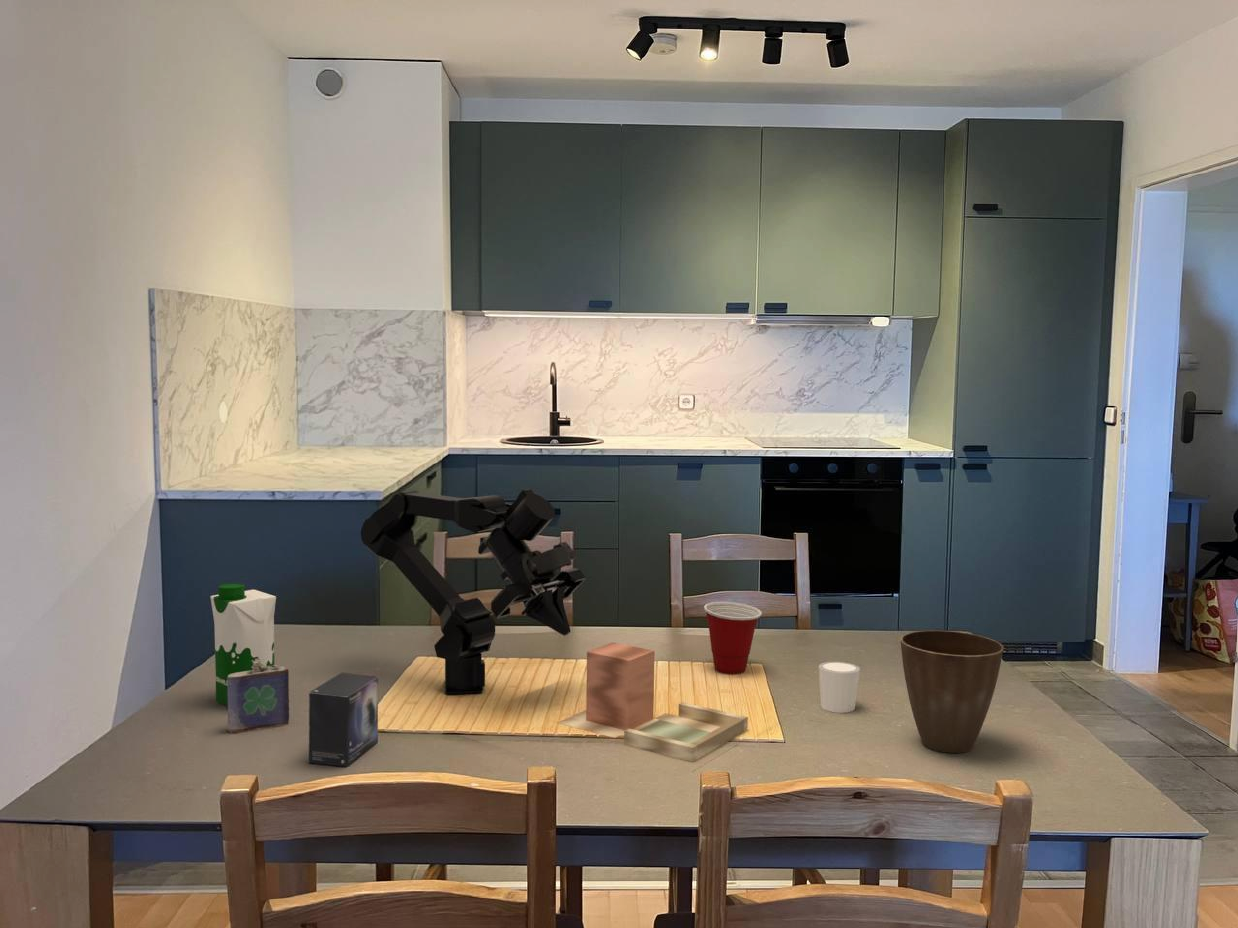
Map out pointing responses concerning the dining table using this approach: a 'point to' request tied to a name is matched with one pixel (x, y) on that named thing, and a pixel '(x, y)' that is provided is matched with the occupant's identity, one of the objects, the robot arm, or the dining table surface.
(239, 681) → the flask
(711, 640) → the plastic cup
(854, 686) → the white tapered cylinder
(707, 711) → the shallow open box
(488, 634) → the robot arm
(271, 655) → the milk carton
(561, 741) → the dining table surface
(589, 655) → the block
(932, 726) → the plant pot
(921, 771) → the dining table surface
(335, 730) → the small box
